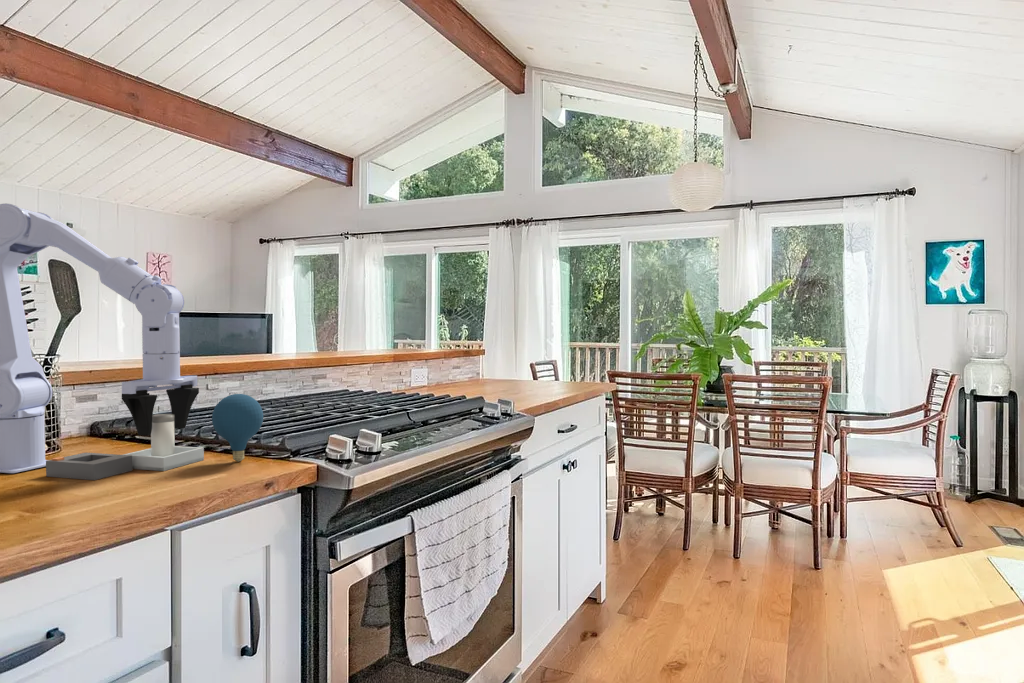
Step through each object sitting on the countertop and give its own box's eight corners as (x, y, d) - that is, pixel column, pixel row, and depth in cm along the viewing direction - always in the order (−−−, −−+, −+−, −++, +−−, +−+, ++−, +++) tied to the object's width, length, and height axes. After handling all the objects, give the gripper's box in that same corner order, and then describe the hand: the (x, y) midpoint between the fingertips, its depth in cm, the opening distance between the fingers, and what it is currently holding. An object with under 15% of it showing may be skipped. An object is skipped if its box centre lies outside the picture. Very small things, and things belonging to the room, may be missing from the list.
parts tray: (121, 467, 109) (120, 455, 109) (163, 457, 118) (163, 445, 118) (163, 470, 107) (163, 457, 107) (203, 459, 116) (203, 447, 116)
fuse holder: (46, 476, 104) (45, 459, 103) (86, 467, 110) (85, 450, 110) (94, 480, 101) (94, 462, 101) (132, 470, 108) (132, 453, 107)
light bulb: (245, 467, 109) (244, 396, 109) (201, 465, 111) (200, 396, 111) (273, 457, 117) (272, 391, 117) (232, 455, 119) (231, 391, 119)
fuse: (146, 462, 111) (145, 416, 111) (162, 458, 115) (161, 413, 114) (164, 463, 110) (163, 417, 110) (180, 459, 114) (179, 414, 114)
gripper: (145, 355, 104) (146, 439, 104) (210, 352, 118) (211, 426, 118) (111, 355, 106) (112, 437, 106) (179, 351, 120) (180, 424, 120)
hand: (162, 431), depth 112 cm, fingers open, 7 cm apart
